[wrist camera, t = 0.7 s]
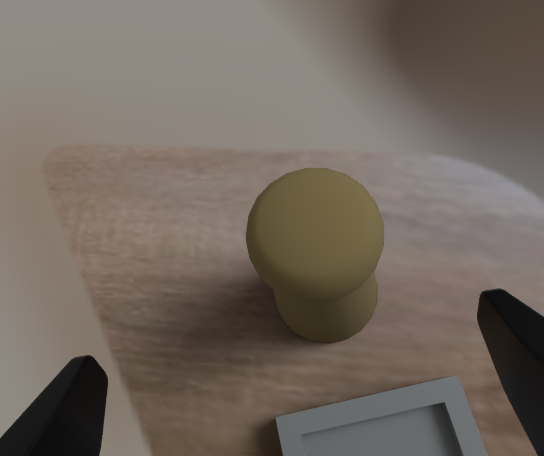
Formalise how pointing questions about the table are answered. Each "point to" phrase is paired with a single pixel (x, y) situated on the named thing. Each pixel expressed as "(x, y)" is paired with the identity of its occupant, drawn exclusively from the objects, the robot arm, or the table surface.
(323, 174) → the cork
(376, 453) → the gray tray
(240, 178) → the table surface
